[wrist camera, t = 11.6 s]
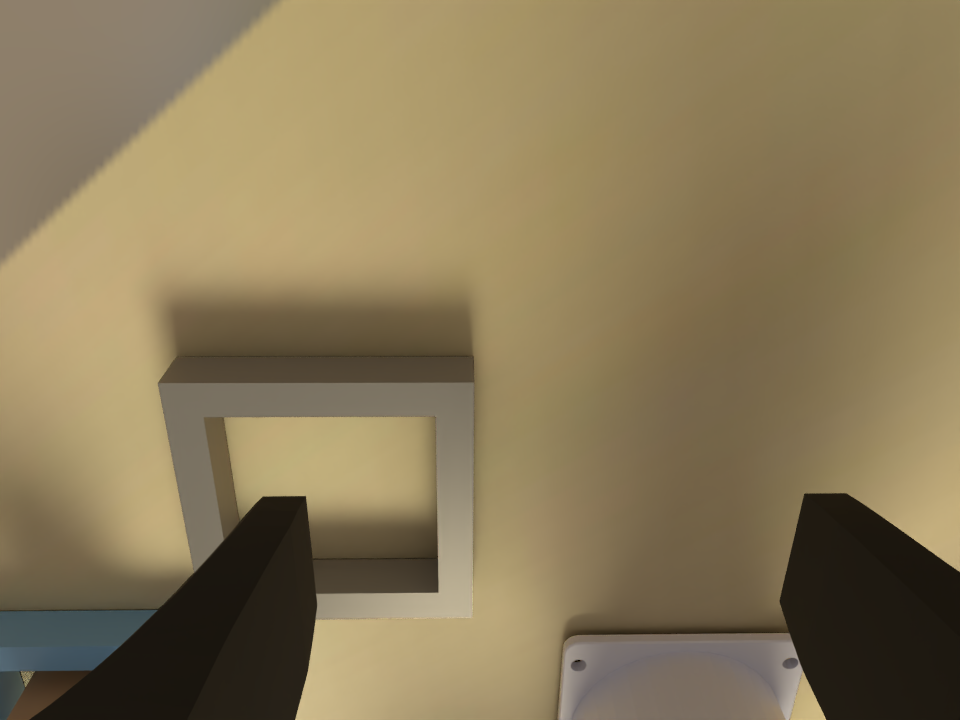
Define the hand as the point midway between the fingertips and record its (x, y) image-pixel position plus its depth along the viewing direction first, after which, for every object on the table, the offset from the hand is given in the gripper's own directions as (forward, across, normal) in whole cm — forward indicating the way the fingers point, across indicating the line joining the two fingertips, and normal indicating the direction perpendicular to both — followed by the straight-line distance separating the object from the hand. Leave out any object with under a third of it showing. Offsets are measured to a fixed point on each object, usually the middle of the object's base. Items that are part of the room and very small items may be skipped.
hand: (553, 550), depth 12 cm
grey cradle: (+10, +5, +6) cm, 13 cm away
